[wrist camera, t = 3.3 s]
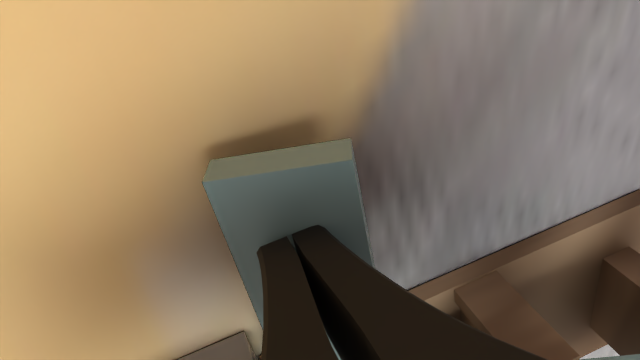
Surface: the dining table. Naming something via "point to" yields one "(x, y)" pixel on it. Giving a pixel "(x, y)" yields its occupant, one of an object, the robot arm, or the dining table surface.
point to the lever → (290, 205)
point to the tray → (225, 350)
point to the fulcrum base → (555, 287)
